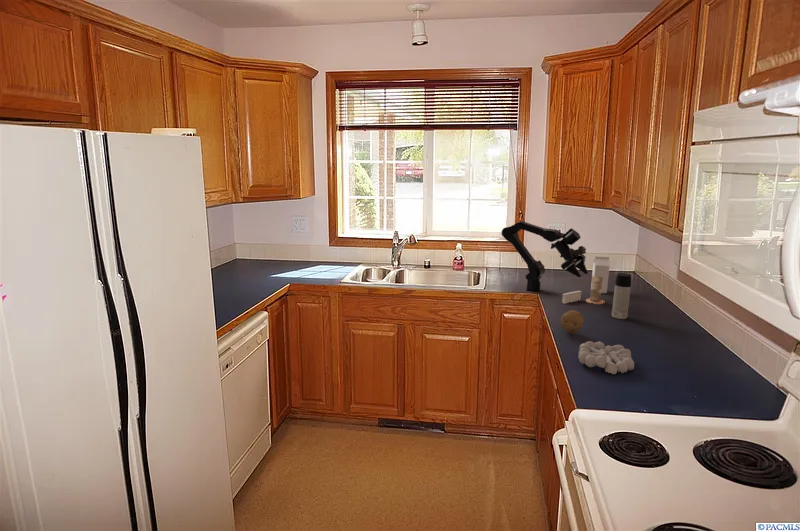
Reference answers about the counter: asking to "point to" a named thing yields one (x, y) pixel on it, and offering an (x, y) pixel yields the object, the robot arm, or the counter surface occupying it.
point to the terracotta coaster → (595, 302)
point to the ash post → (596, 288)
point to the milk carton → (601, 270)
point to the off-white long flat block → (571, 296)
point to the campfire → (606, 357)
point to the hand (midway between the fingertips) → (583, 275)
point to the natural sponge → (572, 321)
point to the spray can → (621, 296)
